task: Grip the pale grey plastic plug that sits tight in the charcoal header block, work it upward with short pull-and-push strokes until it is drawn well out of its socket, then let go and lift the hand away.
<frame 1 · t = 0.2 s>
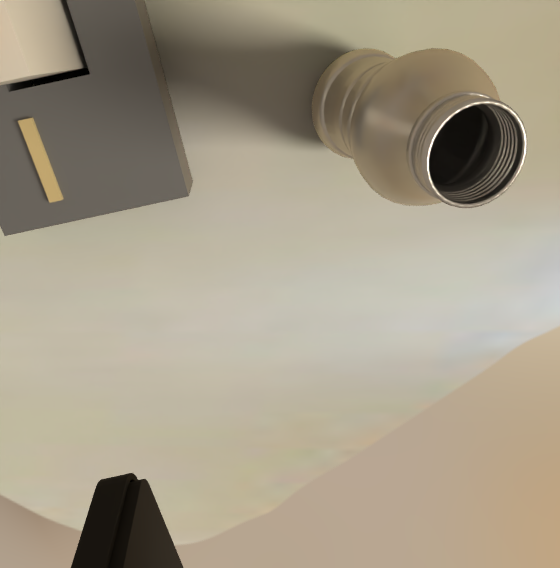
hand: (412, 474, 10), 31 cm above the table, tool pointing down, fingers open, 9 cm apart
header: (52, 30, 33), on the table
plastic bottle: (353, 101, 37), on the table
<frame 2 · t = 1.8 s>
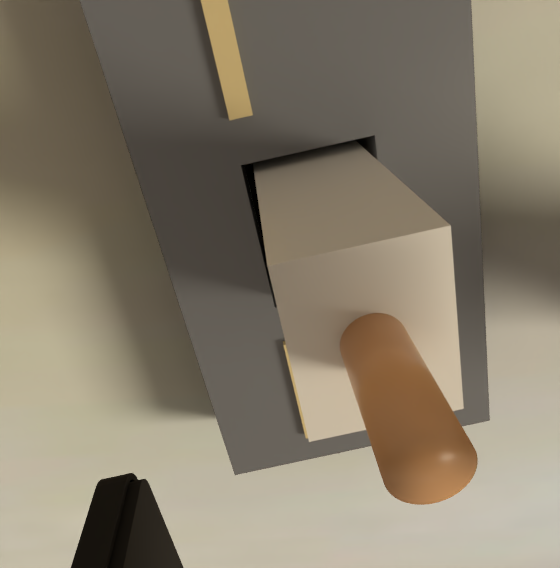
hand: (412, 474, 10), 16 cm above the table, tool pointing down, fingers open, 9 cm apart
header: (308, 197, 24), on the table
plug: (342, 273, 16), point 8 cm above the table, slide at 0.0 cm
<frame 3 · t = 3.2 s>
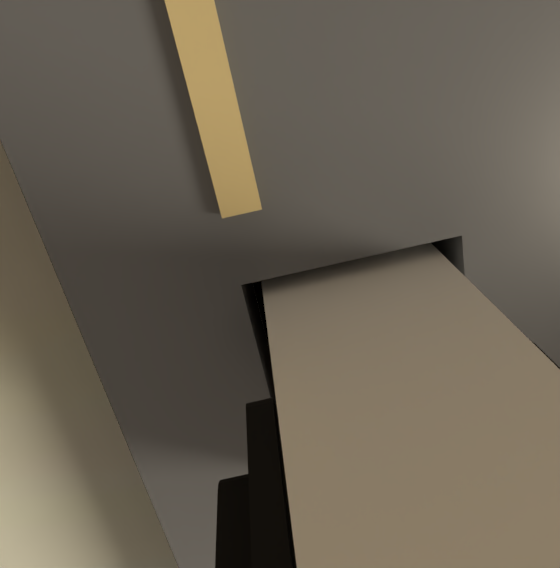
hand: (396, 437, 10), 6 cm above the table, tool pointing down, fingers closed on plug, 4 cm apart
header: (338, 299, 16), on the table
plug: (431, 519, 9), point 8 cm above the table, slide at 0.0 cm, touching gripper
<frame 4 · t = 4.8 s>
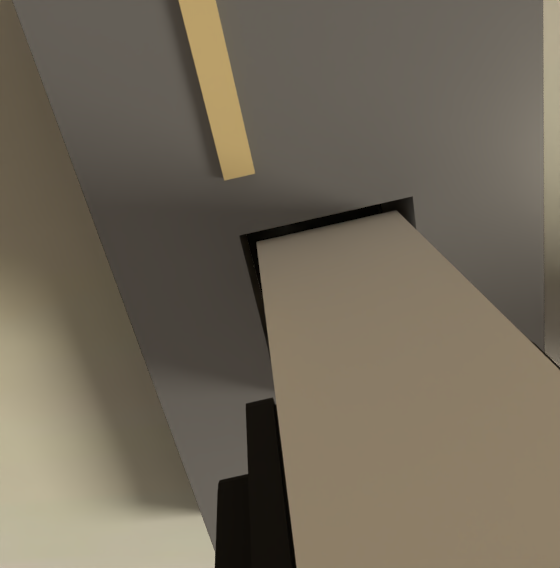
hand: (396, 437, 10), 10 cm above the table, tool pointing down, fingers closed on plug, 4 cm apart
header: (321, 260, 19), on the table
plug: (431, 519, 9), point 12 cm above the table, slide at 3.4 cm, touching gripper
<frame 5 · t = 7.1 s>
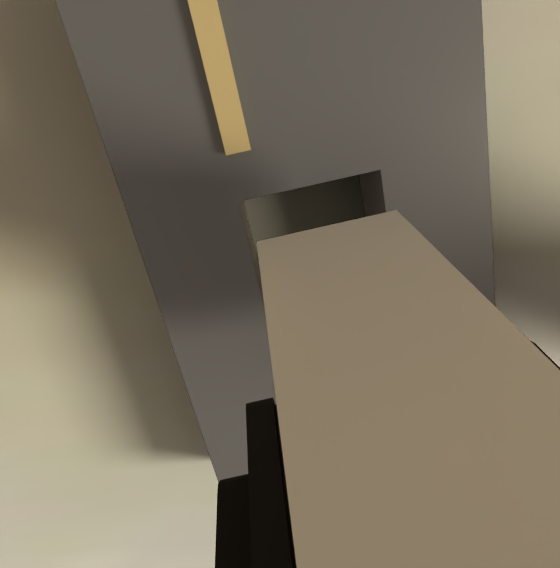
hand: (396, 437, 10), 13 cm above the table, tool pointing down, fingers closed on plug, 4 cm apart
header: (309, 230, 22), on the table
plug: (431, 519, 9), point 15 cm above the table, slide at 6.8 cm, touching gripper
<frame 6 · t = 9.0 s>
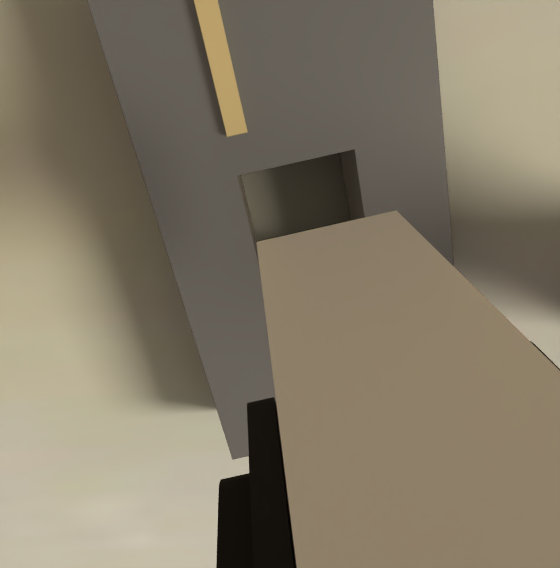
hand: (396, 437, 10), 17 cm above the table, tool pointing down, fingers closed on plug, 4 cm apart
header: (298, 205, 26), on the table
plug: (431, 519, 9), point 19 cm above the table, slide at 10.9 cm, touching gripper
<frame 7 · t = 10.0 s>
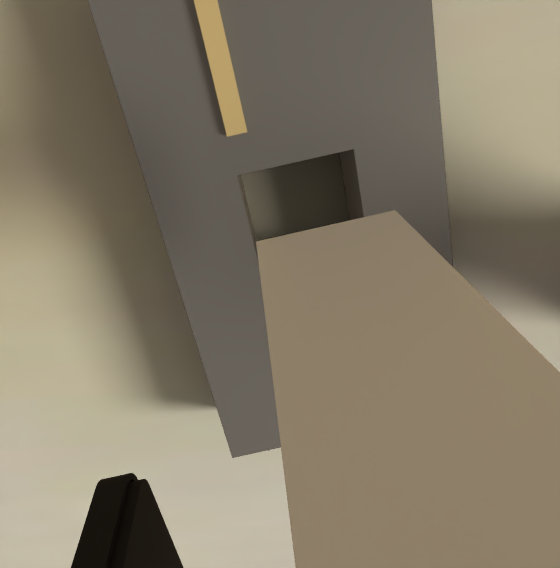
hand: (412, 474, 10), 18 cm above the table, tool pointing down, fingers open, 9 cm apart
header: (297, 204, 26), on the table
plug: (429, 516, 9), point 19 cm above the table, slide at 10.9 cm
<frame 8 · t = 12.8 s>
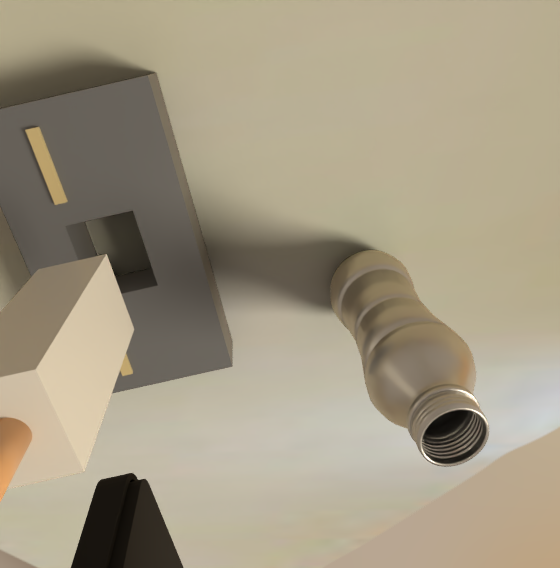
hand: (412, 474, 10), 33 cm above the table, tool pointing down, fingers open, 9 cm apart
header: (123, 238, 42), on the table
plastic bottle: (363, 278, 45), on the table
plug: (43, 376, 24), point 19 cm above the table, slide at 10.9 cm
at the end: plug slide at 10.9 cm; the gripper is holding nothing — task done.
